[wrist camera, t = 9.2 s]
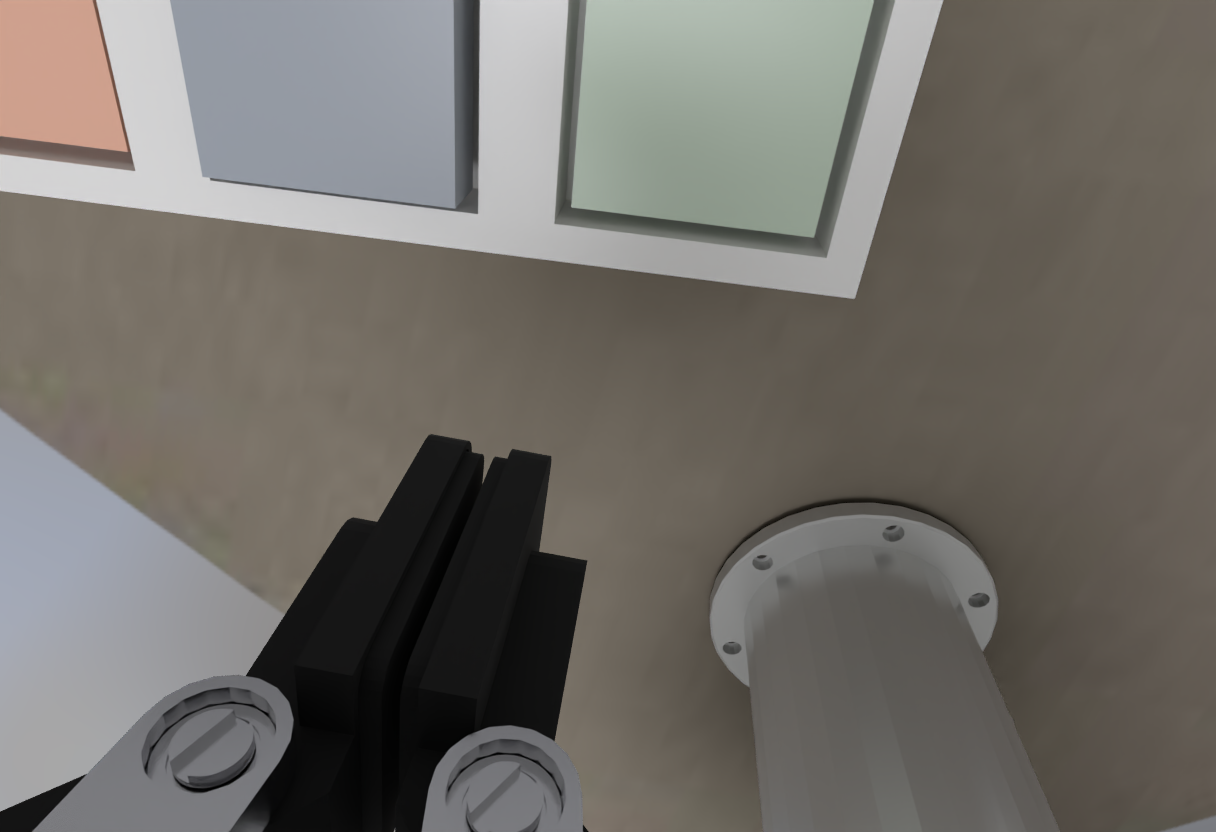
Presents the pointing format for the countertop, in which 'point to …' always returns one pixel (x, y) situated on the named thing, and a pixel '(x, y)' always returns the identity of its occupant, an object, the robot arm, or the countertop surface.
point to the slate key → (333, 94)
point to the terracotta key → (58, 75)
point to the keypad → (500, 157)
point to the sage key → (715, 108)
